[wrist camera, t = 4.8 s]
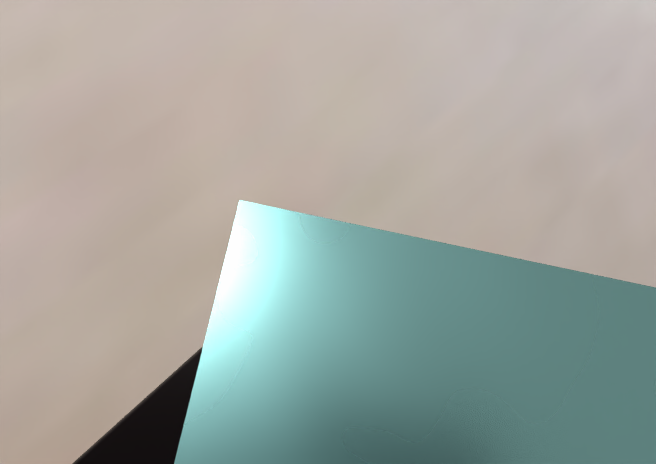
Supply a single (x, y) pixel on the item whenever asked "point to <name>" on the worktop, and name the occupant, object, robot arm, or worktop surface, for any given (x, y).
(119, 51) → the worktop surface
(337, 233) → the teal block grey base
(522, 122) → the worktop surface
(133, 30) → the worktop surface
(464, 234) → the worktop surface
